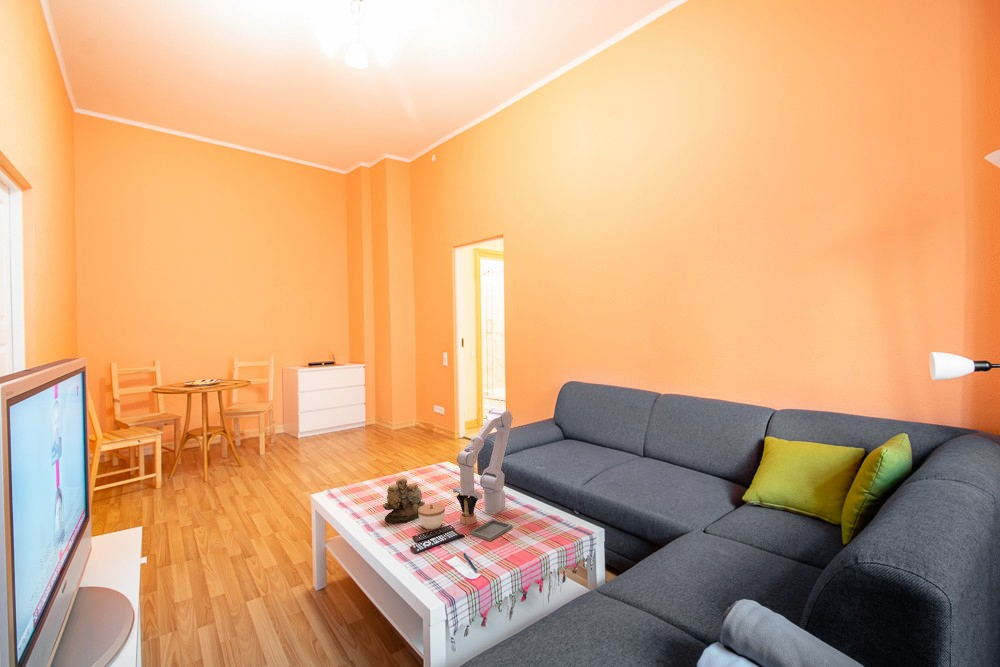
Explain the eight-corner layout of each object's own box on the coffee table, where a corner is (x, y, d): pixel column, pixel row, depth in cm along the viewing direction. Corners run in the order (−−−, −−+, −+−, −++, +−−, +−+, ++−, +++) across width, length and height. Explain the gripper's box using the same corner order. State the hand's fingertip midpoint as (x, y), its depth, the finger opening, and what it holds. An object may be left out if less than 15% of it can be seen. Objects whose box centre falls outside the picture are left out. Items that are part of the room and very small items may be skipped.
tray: (492, 523, 192) (492, 518, 192) (512, 529, 186) (512, 524, 186) (470, 535, 181) (470, 531, 181) (490, 542, 175) (490, 538, 175)
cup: (467, 517, 198) (467, 509, 198) (479, 521, 194) (479, 513, 194) (456, 522, 193) (456, 515, 193) (468, 526, 189) (468, 519, 189)
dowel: (467, 518, 195) (467, 497, 195) (473, 520, 194) (472, 498, 193) (463, 521, 193) (462, 499, 193) (468, 522, 191) (467, 501, 191)
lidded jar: (420, 534, 183) (419, 511, 183) (417, 523, 193) (416, 501, 193) (447, 531, 186) (446, 507, 185) (443, 520, 196) (442, 498, 196)
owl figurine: (386, 527, 190) (385, 486, 190) (379, 517, 201) (378, 478, 200) (428, 517, 199) (427, 477, 199) (419, 508, 209) (418, 470, 209)
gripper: (447, 479, 194) (448, 511, 195) (474, 486, 185) (475, 520, 186) (459, 475, 200) (460, 506, 200) (485, 481, 191) (486, 514, 191)
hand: (468, 512), depth 193 cm, fingers open, 3 cm apart
